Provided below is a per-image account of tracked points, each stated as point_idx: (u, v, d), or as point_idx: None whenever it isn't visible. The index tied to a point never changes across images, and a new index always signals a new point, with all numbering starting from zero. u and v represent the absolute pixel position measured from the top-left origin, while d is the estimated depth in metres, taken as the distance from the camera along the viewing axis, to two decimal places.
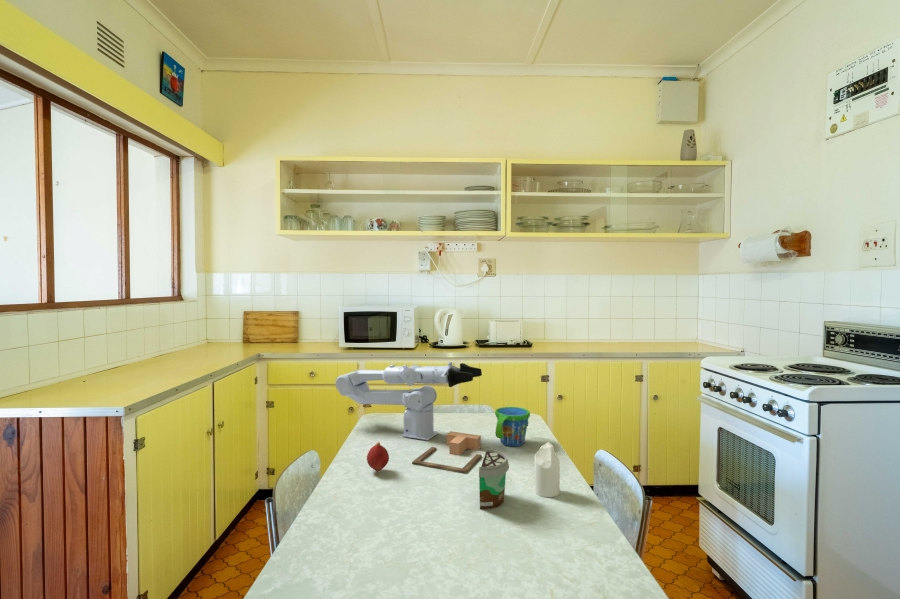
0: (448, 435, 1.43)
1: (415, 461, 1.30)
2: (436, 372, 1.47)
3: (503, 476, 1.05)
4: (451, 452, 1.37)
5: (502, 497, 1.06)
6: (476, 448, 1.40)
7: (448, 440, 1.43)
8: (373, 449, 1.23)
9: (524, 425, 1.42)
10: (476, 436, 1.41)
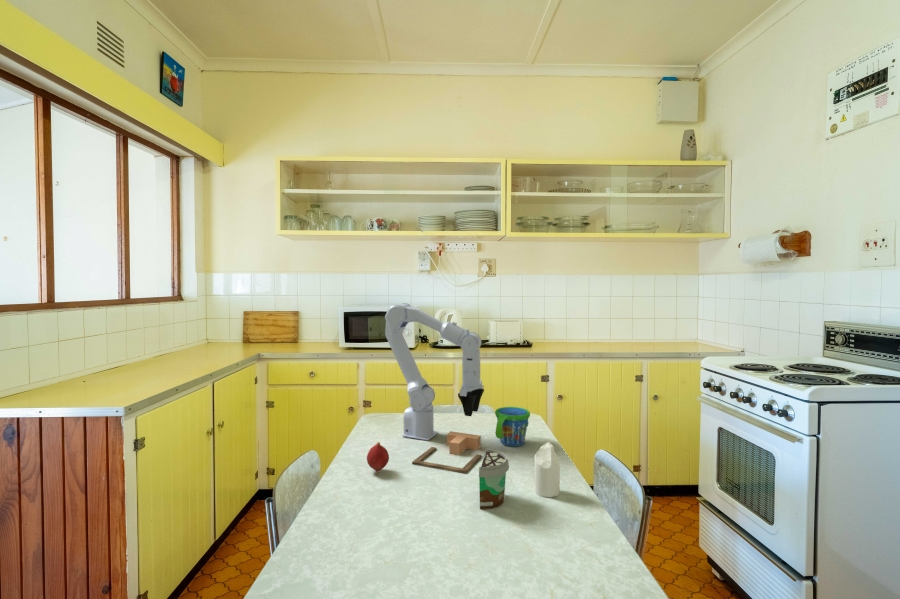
0: (448, 435, 1.43)
1: (415, 461, 1.30)
2: (472, 376, 1.45)
3: (503, 476, 1.05)
4: (451, 452, 1.37)
5: (502, 497, 1.06)
6: (476, 448, 1.40)
7: (448, 440, 1.43)
8: (373, 449, 1.23)
9: (524, 425, 1.42)
10: (476, 436, 1.41)
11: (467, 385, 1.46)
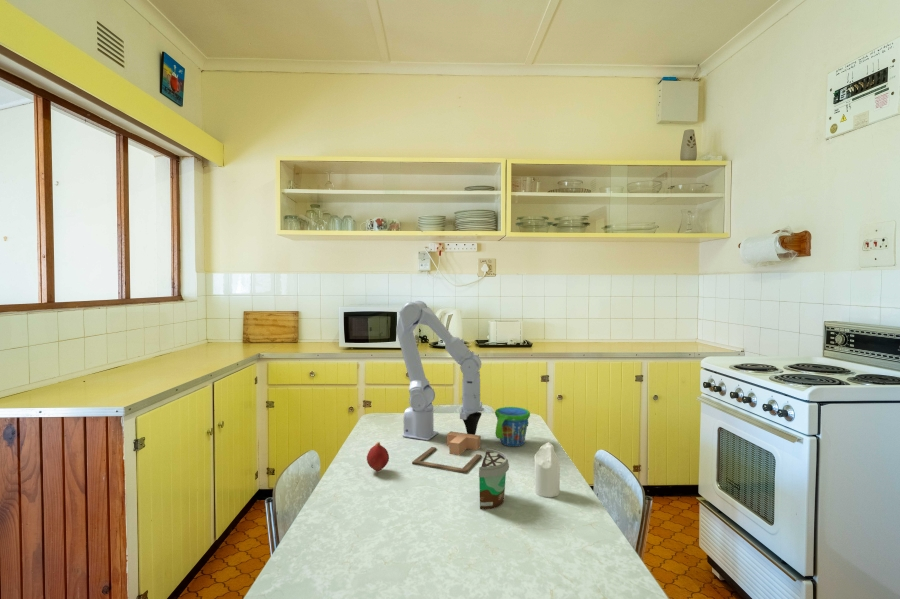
0: (448, 435, 1.43)
1: (415, 461, 1.30)
2: (472, 398, 1.46)
3: (503, 476, 1.05)
4: (451, 452, 1.37)
5: (502, 497, 1.06)
6: (476, 448, 1.40)
7: (448, 440, 1.43)
8: (373, 449, 1.23)
9: (524, 425, 1.42)
10: (476, 436, 1.41)
11: (467, 408, 1.46)
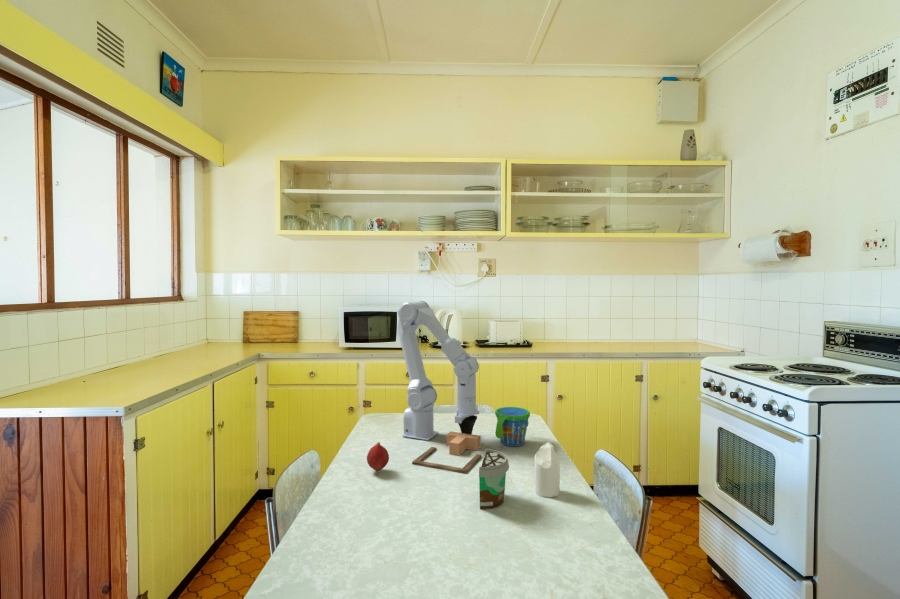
0: (448, 435, 1.43)
1: (415, 461, 1.30)
2: (467, 402, 1.42)
3: (503, 476, 1.05)
4: (451, 452, 1.36)
5: (502, 497, 1.06)
6: (476, 448, 1.40)
7: (447, 440, 1.43)
8: (373, 449, 1.23)
9: (524, 425, 1.42)
10: (476, 436, 1.41)
11: (462, 411, 1.42)
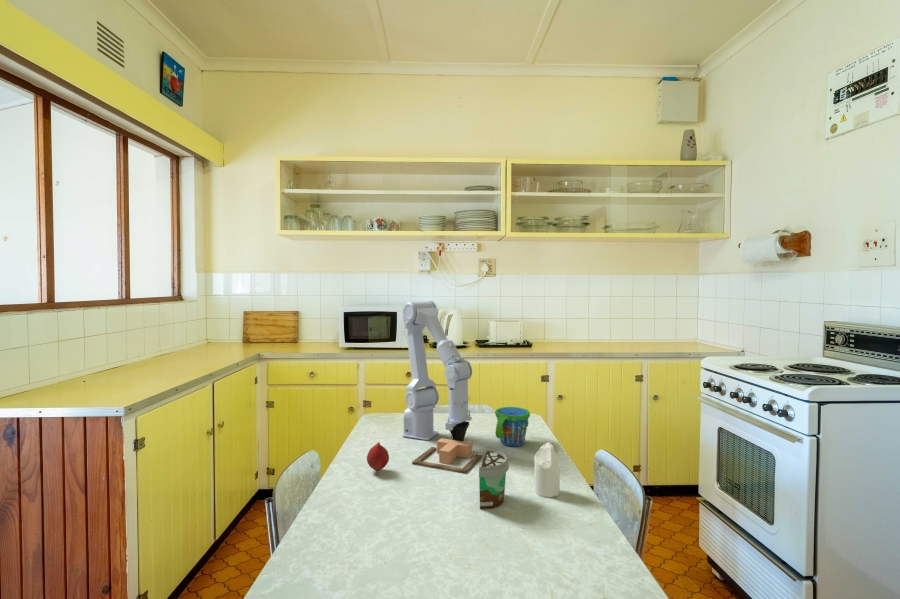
0: (438, 442, 1.37)
1: (415, 461, 1.30)
2: (459, 407, 1.36)
3: (503, 476, 1.05)
4: (441, 461, 1.30)
5: (502, 497, 1.06)
6: (467, 456, 1.33)
7: (438, 448, 1.37)
8: (373, 449, 1.23)
9: (524, 425, 1.42)
10: (467, 443, 1.35)
11: (454, 417, 1.36)
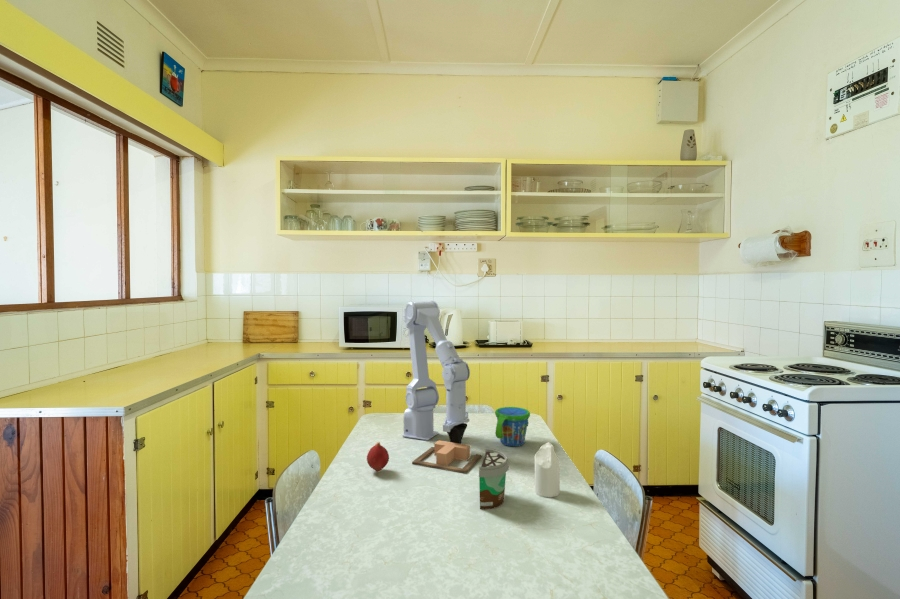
0: (435, 444, 1.35)
1: (415, 461, 1.30)
2: (456, 409, 1.34)
3: (503, 476, 1.05)
4: (438, 463, 1.28)
5: (502, 497, 1.06)
6: (465, 458, 1.32)
7: (435, 450, 1.35)
8: (373, 449, 1.23)
9: (524, 425, 1.42)
10: (465, 446, 1.33)
11: (451, 419, 1.35)
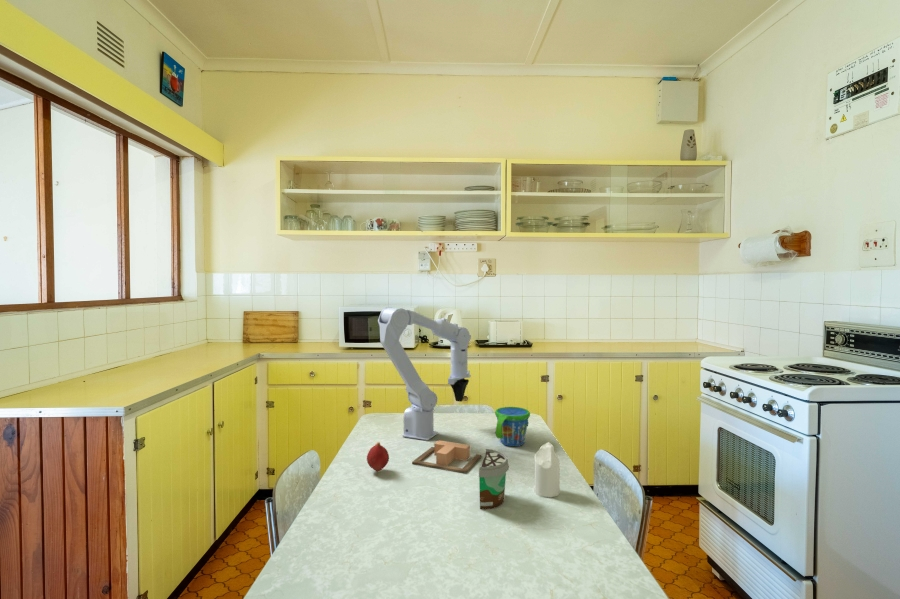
0: (435, 444, 1.35)
1: (415, 461, 1.30)
2: (459, 366, 1.56)
3: (503, 476, 1.05)
4: (438, 463, 1.28)
5: (502, 497, 1.06)
6: (465, 458, 1.32)
7: (435, 450, 1.35)
8: (373, 449, 1.23)
9: (524, 425, 1.42)
10: (465, 446, 1.33)
11: (455, 374, 1.57)
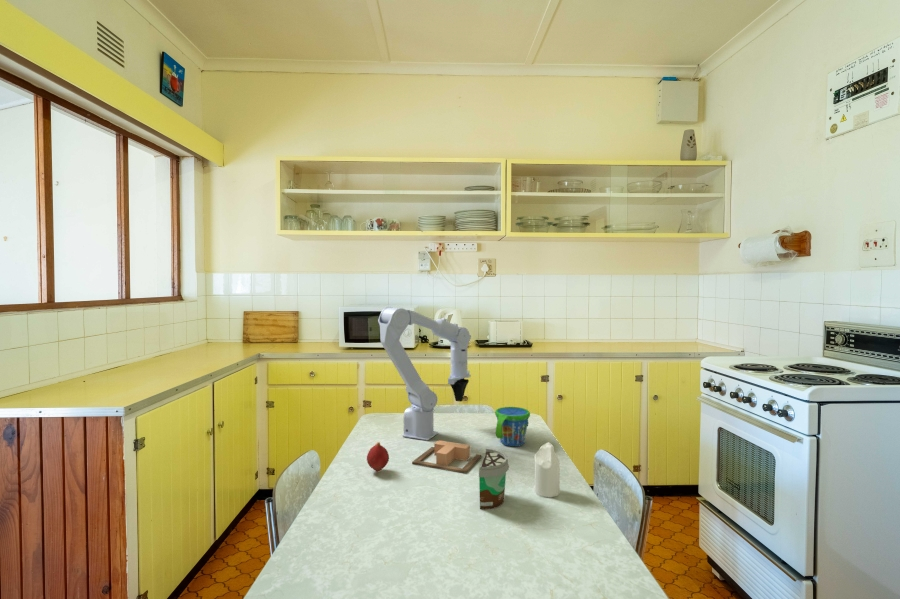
0: (435, 444, 1.35)
1: (415, 461, 1.30)
2: (459, 366, 1.57)
3: (503, 476, 1.05)
4: (438, 463, 1.28)
5: (502, 497, 1.06)
6: (465, 458, 1.32)
7: (435, 450, 1.35)
8: (373, 449, 1.23)
9: (524, 425, 1.42)
10: (465, 446, 1.33)
11: (455, 374, 1.57)
